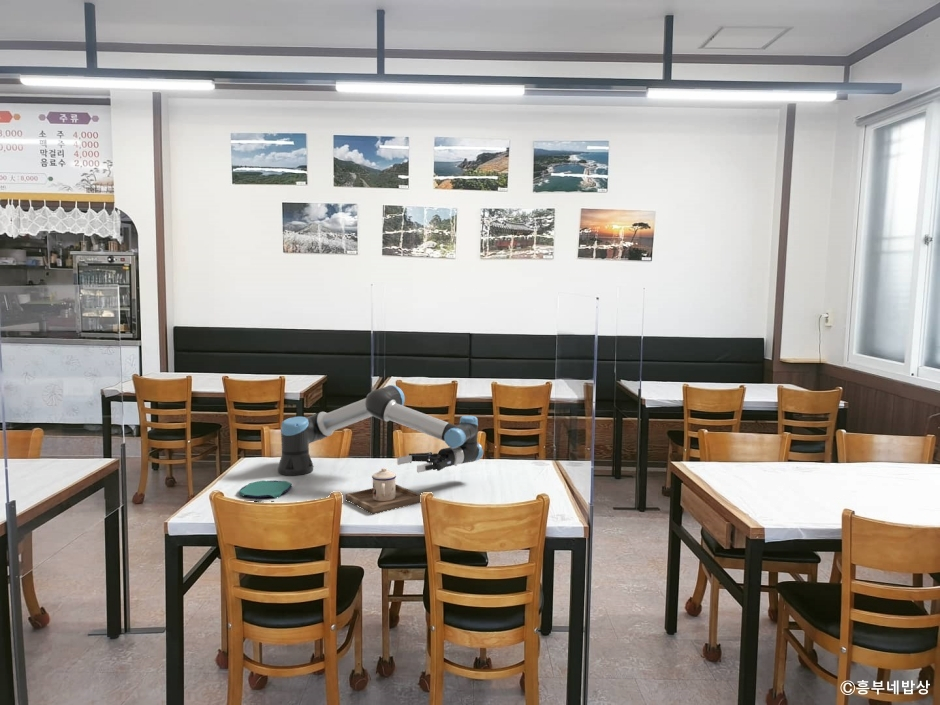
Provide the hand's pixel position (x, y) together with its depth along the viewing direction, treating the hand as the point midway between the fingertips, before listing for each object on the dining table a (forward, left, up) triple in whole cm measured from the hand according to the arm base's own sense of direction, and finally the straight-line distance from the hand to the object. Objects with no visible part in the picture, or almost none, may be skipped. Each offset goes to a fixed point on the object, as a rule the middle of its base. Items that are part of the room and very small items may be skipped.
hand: (407, 465), depth 250 cm
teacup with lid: (0, -11, -12) cm, 16 cm away
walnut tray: (0, -11, -12) cm, 16 cm away
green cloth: (-37, -44, -13) cm, 59 cm away
